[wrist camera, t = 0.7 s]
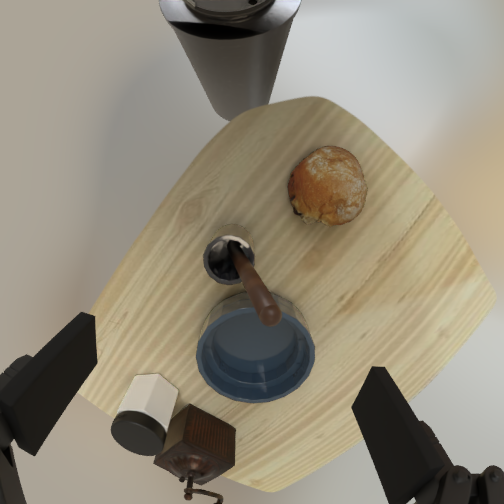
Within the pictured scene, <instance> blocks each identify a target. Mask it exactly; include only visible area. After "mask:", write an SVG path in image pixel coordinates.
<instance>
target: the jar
mask: <svg viewBox="0 0 504 504" xmlns="http://www.w3.org/2000/svg"><path fill="white" fill-rule="evenodd" d="M178 393H179V390H178V389H177V388H176V387H174V386H173V385H172V384H171V383H169V382H168V381H167V380H166V379H165V378H164V377H162V376H161V375H160V374H147V375H135V377H134V379H133V381H132V383H131V384H130V386H129V388H128V390H127V392H126V394H125V396H124V398H123V400H122V402H121V404H120V406H119V408H118V410H117V416H116V417H115V419H114V421H113V423H112V426H111V434H112V436H113V438H114V439H115V440H116V442H118V443H119V444H120V445H121V446H122V447H124V448H125V449H127V450H129V451H131V452H133V453H136V454H139V455H144V456H154V455H157V454H159V453H161V452H162V450H163V448H164V444H165V441H166V437H167V432H168V428H169V425H170V421H171V418H172V414H173V411H174V407H175V404H176V400H177V396H178Z"/></svg>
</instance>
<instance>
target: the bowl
mask: <svg viewBox="0 0 504 504" xmlns="http://www.w3.org/2000/svg"><path fill="white" fill-rule="evenodd" d="M271 296H272V297H273V299H274V300H275V302H276V303H277V305H278V306H279V308H280V310H281V312H282V318H281V321H280V322H279V323H278V324H277V325H275V326H272V327H269V326H265V325H264V324H263V323H262V322H261V321H260V319H259V317H258V315H257V313H256V310H255V308H254V306H253V304H252V302H251V300H250V298H249V296H248V293H247V292H246V293H240V294H237V295H234V296H232V297H229V298H227V299H225V300H223V301H222V302H221V303H220V304H218V305H217V306H216V307H215V308H213V309H212V310H211V312H210V313H209V315H208V317H207V318H206V320H205V322H204V324H203V327H202V331H201V334H200V338H199V341H198V346H197V352H196V360H197V364H198V369H199V372H200V373H201V375H202V377H203V378H204V380H205V381H206V383H207V384H208V385H209V386H210V387H212V388H213V389H214V390H215V391H216V392H218V393H219V394H221V395H223V396H225V397H228V398H230V399H232V400H235V401H240V402H247V403H263V402H270V401H273V400H276V399H279V398H282V397H285V396H287V395H288V394H290V393H291V392H293V391H294V390H296V389H297V388H298V387H300V386H301V384H302V383H303V382H304V381H305V380H306V379H307V377H308V376H309V374H310V372H311V369H312V367H313V364H314V361H315V346H314V343H313V341H312V338H311V335H310V333H309V330H308V328H307V325H306V323H305V320H304V318H303V315H302V314H301V313H300V312H299V310H298V309H297V308H296V307H295V306H294V305H293V304H292V303H291V302H289V301H287V300H285V299H283V298H282V297H280V296H278V295H275V294H271Z"/></svg>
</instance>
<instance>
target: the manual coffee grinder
mask: <svg viewBox="0 0 504 504" xmlns="http://www.w3.org/2000/svg"><path fill="white" fill-rule="evenodd" d="M235 432H236V429H235V428H234V427H232V426H231V425H229V424H228V423H226V422H224V421H222V420H220V419H218V418H216V417H214V416H212V415H211V414H209V413H207V412H205V411H203V410H201V409H199V408H197V407H195V406H193V405H191V404H189V405H188V406H186V407H185V408H184V409H182V410H181V411H180V412H179V413H178V414H177V415H176V416H175V417H174V418H173V419H171V421H170V425H169V428H168V432H167V437H166V441H165V444H164V448H163V450H162V452H161V453H159V454H157V455H156V456H155V460H154V464H155V465H157V466H159V467H161V468H163V469H165V470H167V471H169V472H170V473H172V474H173V475H175V476H177V477H178V478H180V479H179V481H180V482H184V481H185V480H188V482H187V488H186V489H184V492H185V493H186V494H185V495H184V498H185V499H186V500H191V499H192V494H193V493H197V494H204V495H208V496H212V497H216V498H217V499H218V500H217V503H214V504H222V502H223V496H222V495H220V494H217V493H213V492H210V491H206V490H202V489H192V486H193V482H194V483H196V484H199V485H203V484H205V483H207V482H209V481H211V480H212V479H214V478H216V477H218V476H219V475H221V474H223V473H224V472H226V471H227V470H229V469H230V468H232V467H233V466H235Z"/></svg>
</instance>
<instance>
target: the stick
mask: <svg viewBox="0 0 504 504" xmlns="http://www.w3.org/2000/svg"><path fill="white" fill-rule="evenodd" d="M227 250H228V252H229V254H230V257H231V259H232V261H233V263H234V265H235V268H236V270H237V272H238V274H239V276H240V278H241V280H242V283H243V285H244V287H245V289H246V291H247V293H248V296H249V298H250V300H251V302H252V304H253V306H254V308H255V310H256V313H257V315H258V317H259V319H260V321H261V322H262V323H263V324H264V325H265V326H269V327H272V326H275V325H277V324H278V323H279V322H280V321H281V318H282V312H281V310H280V308H279V306H278V305H277V303H276V302H275V300H274V299H273V297H272V296H271V294H270V292H269V291H268V289H267V288H266V286H265V285H264V283H263V281H262V280H261V278H260V277H259V275H258V274H257V272H256V270H255V269H254V267H253V266H252V264H251V263H250V261H249V259H248V258H247V256H246V255H245V253H244V252H243V250H242V248H241V247H240V245H239V244H238V242H236V241H230V242H229V243H228V244H227Z"/></svg>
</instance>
